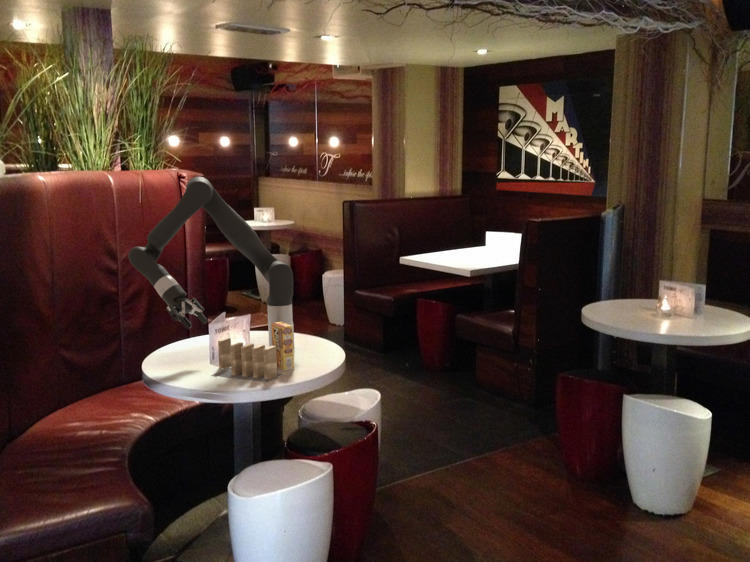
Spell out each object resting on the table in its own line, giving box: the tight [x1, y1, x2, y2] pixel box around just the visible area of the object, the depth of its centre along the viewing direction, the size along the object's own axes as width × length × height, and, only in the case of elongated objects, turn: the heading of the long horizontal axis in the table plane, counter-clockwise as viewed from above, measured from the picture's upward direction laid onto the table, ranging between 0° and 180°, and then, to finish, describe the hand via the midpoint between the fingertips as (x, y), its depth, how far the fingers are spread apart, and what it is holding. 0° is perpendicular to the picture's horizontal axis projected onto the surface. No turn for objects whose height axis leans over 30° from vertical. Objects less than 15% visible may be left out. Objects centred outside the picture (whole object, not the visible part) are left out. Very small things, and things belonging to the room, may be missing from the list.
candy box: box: [271, 322, 295, 371], centre depth 246 cm, size 9×4×15 cm, turn 33°
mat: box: [210, 367, 284, 383], centre depth 238 cm, size 10×22×1 cm, turn 66°
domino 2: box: [230, 342, 244, 376], centre depth 238 cm, size 2×5×10 cm, turn 156°
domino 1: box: [217, 337, 232, 370], centre depth 248 cm, size 2×5×10 cm, turn 156°
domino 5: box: [263, 346, 278, 380], centre depth 233 cm, size 2×5×10 cm, turn 156°
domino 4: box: [252, 344, 266, 378], centre depth 235 cm, size 2×5×10 cm, turn 156°
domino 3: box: [241, 343, 255, 377], centre depth 237 cm, size 2×5×10 cm, turn 156°
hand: (198, 324), depth 251 cm, fingers open, 8 cm apart
